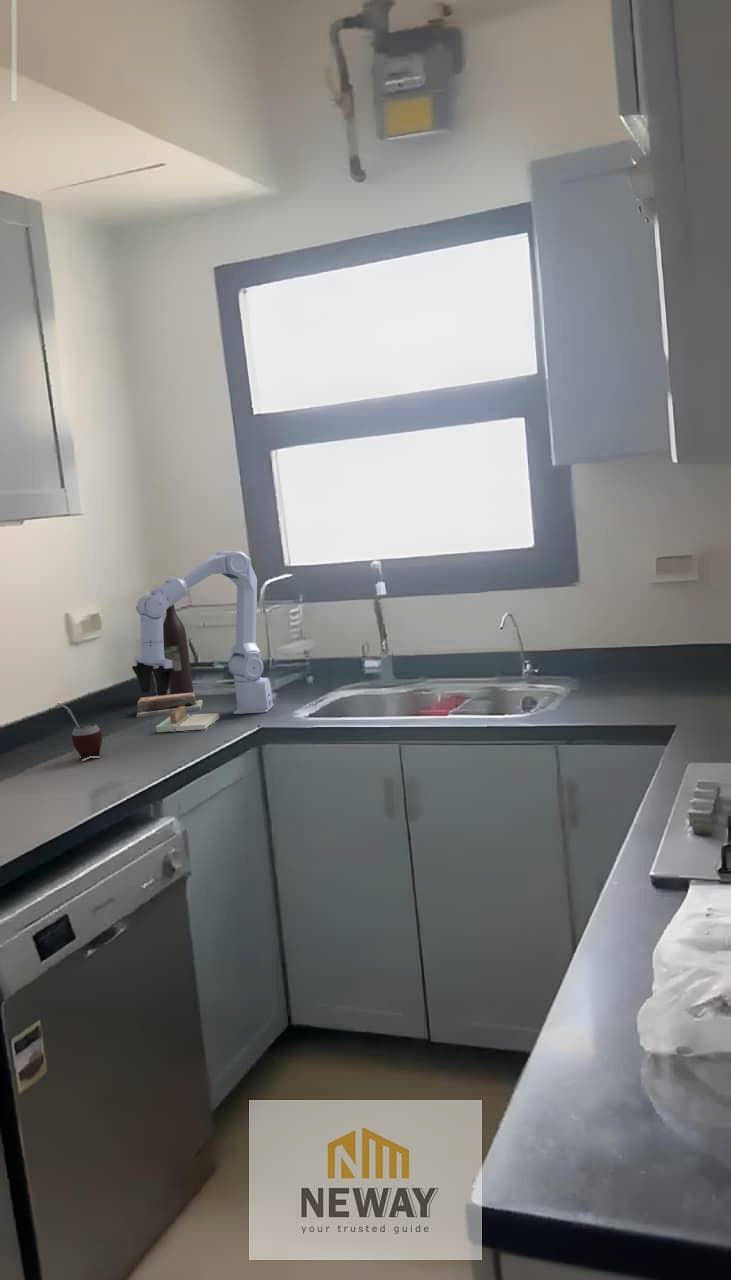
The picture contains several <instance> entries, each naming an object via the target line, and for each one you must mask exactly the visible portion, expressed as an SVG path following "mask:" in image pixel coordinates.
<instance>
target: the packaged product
mask: <svg viewBox="0 0 731 1280" xmlns="http://www.w3.org/2000/svg"><path fill="white" fill-rule="evenodd" d="M180 706H185V707H186V713H187V712H195V711H201V709H202V706H203V699H199V700H196V693H195V692H194V693H193V692H192V693H182V694H172V695H170V694H166V695H162V696H158V695H153V696H145V697H139V700H138V701H137V703H136V707H137V712H136V718H144V717H152V716H153V717H154V716H164V715H170V713H171V712H173V711H174V710H175V709H177V708H178V707H180Z"/></svg>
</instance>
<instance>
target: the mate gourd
mask: <svg viewBox="0 0 731 1280" xmlns="http://www.w3.org/2000/svg"><path fill="white" fill-rule="evenodd" d="M56 704H57V705H58V706H60V707H62V708H64V709H65V710H66V711H67V714H69V715H70V716H71V719H72V720H73V722H74V724H75V727H74V728H73V731H71V741H72V744H73V747H74V749H75V750H76V752H77V753H78V754H79V756H81V758H80V759H81V760H82V759H84V758H87V757H89V756H101V755H100V752H101V746H102V744H103V734H102V731H101V728H100V727H99V726H98V724H96V723H85V724H80V725H79V723H78V721H77V719H76V718H75V715H74V714H73V711H72V710H71V708H69V707H68V706H66V705H64V704H63V703H60V702H56Z"/></svg>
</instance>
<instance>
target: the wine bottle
mask: <svg viewBox="0 0 731 1280" xmlns="http://www.w3.org/2000/svg"><path fill="white" fill-rule="evenodd" d="M165 614H166V615H165V618H164V620H163V640H164V658H166V659H168V660H172V668H174V672H173V674H172V676H171V678H170V681H169V685H168V691H169V695H172V694H182V693H192V692H193V693H195V692H194V685H193V677H192V671H191V670H192V669H191V660H190V653H189V647H188V640H187V639H188V638H187V634H186V629H185V626H184V623H183V622H182V621H181V619H180V618H179V616H178V615H177V613H176V608H175V604H174V605H172V606H171V607H169V608H168V609H167V610H166V612H165Z"/></svg>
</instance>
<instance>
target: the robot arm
mask: <svg viewBox="0 0 731 1280" xmlns="http://www.w3.org/2000/svg"><path fill="white" fill-rule="evenodd" d="M251 560H252V559H251V558H250V557H248V555H247V554H245V553H244V552H243V551H241V550H235V551H233V550H232V551H229V550H219V551H217V552H216V553H215V554H212V555H210V556H208V558H206V559H205V560H204V561H202V562H201V563H200V564H199V565H197V566H196V567H194V568H193V569H192V570H190V571H189V572H188V573H186V574H185V575H184V576H183V577H181V578H178V577H172V578H167V579H165V583H164V584H162V585H160V586H159V587H157V588H153V589H151V591H150V592H151V593H150V594H144V595H142V596H141V597H140V598H138V601H137V605H135V609H136V611H137V613H138V614H139V616H140V617H139V619H140V625H139V626H140V648H141V649H140V651H141V654H140V655H136V656H134V657H133V658H134V664H136V665H133V666H132V668H131V669H132V670H133V672H134V675H135V676H136V678H137V681H138V683H139V688H140V691H141V693H143V694H144V693H150V691H151V687H152V686H151V685H152V684H151V683H152V674H153V677H154V679H155V684H156V691H157V696H163V695H168V694H167V693H168V690H169V681H170V678H171V676H172V674H173V672H174V668H172V660H168V659H166V658H165V655H164V640H163V623H164V615H165V614H166V610H167V609H168V608H169V607H171V606H172V605H174V606H175V604H177V603H178V602H180V601H181V600H182V599H184V598H186V597H187V595H188V591H189V589H190V588H192V587H194V586H195V585H198V584H199V583H200V582H202V581H203V580H205V579H206V578H207V579H208V578H209V577H210V576H212V575H219V574H221V575H223V576H224V577H227V578H228V579H229V580H230V581H232V583H234V584H235V586H236V612H235V613H236V618H235V625H236V626H235V644H234V646H233V647H232V648H231V654H230V657H229V660H228V663H227V666H228V671H229V672H230V673H231V675H233V679H234V680H233V683H234V688H235V689H234V691H235V696H236V697H235V698H236V705H237V709H236V710H235V711H233V714H234V715H242V714H243V715H244V714H260V713H261V714H262V713H267V712H268V711H270V709H272V707H274V705H275V704H274V699H273V692H272V685H271V680H270V679H269V677H261V675H262V673H263V672H264V663H263V662H264V661H263V660H262V657H261V656H262V654H261V650H260V648H259V647H258V645H257V610H258V609H257V606H258V603H257V602H258V578H257V575H256V573H255V571H254V568H253V566H252V563H251V562H252V561H251Z"/></svg>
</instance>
